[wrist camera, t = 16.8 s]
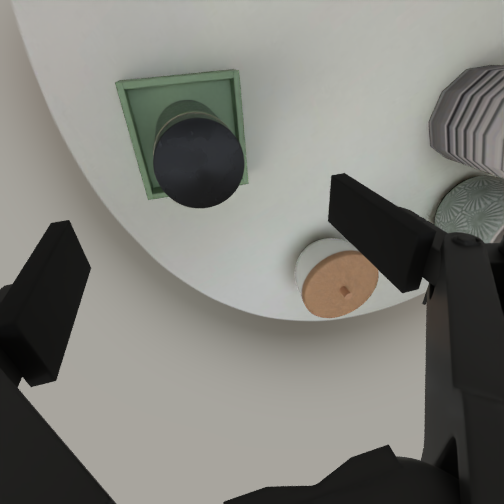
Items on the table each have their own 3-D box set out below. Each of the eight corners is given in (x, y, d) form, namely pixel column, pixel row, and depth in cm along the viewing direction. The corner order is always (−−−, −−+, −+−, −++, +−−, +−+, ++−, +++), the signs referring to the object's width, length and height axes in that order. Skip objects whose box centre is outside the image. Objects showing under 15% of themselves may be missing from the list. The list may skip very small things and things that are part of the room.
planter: (415, 246, 51) (470, 286, 42) (438, 173, 44) (508, 203, 35) (478, 234, 53) (542, 270, 44) (508, 163, 46) (591, 189, 37)
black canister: (163, 173, 34) (164, 216, 25) (146, 103, 30) (140, 123, 21) (226, 164, 35) (248, 201, 26) (218, 95, 31) (241, 111, 22)
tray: (149, 191, 35) (148, 200, 33) (118, 80, 29) (114, 82, 27) (243, 176, 37) (248, 183, 35) (233, 69, 31) (239, 70, 29)
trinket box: (312, 295, 51) (339, 337, 43) (270, 264, 45) (292, 306, 37) (362, 250, 48) (400, 287, 40) (323, 212, 43) (359, 246, 35)
